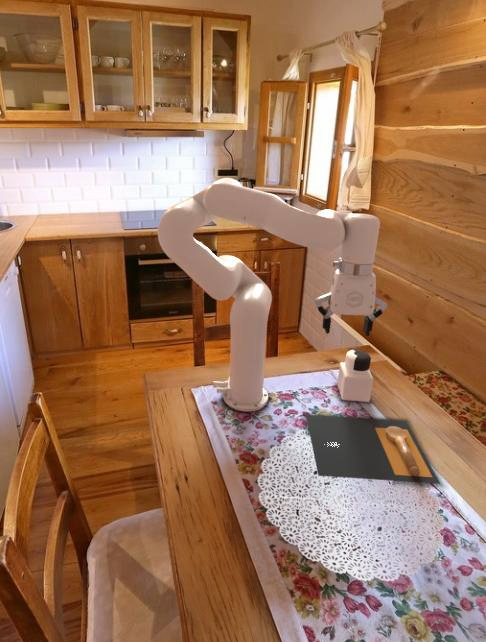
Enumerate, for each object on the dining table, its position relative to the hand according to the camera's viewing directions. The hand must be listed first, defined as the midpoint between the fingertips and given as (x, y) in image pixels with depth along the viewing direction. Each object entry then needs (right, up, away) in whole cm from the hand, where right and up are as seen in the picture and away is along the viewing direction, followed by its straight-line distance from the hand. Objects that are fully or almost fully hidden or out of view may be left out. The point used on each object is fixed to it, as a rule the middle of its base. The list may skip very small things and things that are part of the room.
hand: (346, 332), depth 101 cm
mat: (+4, -27, -3) cm, 27 cm away
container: (+7, -20, +16) cm, 27 cm away
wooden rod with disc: (+12, -27, -5) cm, 30 cm away
